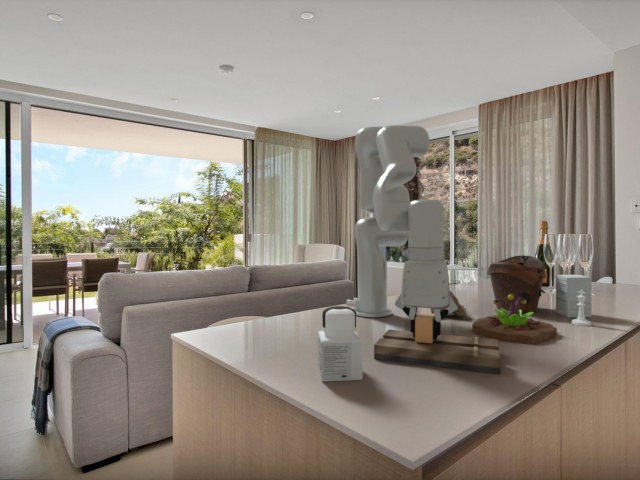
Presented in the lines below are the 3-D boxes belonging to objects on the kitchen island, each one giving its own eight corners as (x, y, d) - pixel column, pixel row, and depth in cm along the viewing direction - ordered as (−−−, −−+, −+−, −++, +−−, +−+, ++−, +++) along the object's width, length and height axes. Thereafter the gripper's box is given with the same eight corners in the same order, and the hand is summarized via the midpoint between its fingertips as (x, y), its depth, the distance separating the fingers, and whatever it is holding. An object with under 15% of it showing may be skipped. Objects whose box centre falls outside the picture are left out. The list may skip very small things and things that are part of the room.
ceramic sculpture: (461, 284, 134) (467, 295, 119) (461, 310, 134) (467, 323, 120) (428, 284, 136) (431, 294, 121) (428, 309, 137) (431, 322, 122)
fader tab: (415, 351, 87) (415, 318, 86) (419, 343, 92) (419, 312, 92) (432, 353, 85) (432, 319, 85) (435, 345, 91) (435, 313, 91)
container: (318, 367, 81) (317, 304, 81) (355, 366, 82) (355, 303, 81) (321, 382, 73) (321, 312, 73) (362, 380, 74) (362, 311, 74)
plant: (460, 334, 106) (460, 292, 106) (487, 321, 120) (487, 284, 120) (544, 349, 92) (544, 302, 92) (563, 332, 107) (563, 291, 106)
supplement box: (578, 312, 129) (579, 274, 129) (592, 318, 122) (592, 277, 121) (554, 312, 130) (555, 274, 129) (566, 317, 122) (567, 277, 122)
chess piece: (585, 326, 111) (585, 291, 111) (567, 323, 116) (567, 289, 115) (595, 324, 114) (595, 290, 113) (577, 321, 118) (577, 287, 118)
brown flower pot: (496, 314, 127) (496, 259, 127) (481, 302, 147) (481, 254, 146) (556, 316, 124) (557, 259, 124) (533, 304, 144) (533, 254, 143)
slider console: (374, 358, 86) (374, 344, 86) (388, 341, 99) (388, 328, 99) (500, 374, 77) (500, 357, 76) (498, 352, 89) (498, 338, 89)
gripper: (384, 256, 88) (385, 337, 88) (464, 257, 81) (464, 346, 82) (392, 253, 95) (392, 329, 95) (466, 255, 88) (465, 336, 89)
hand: (425, 336), depth 89 cm, fingers closed on fader tab, 3 cm apart
